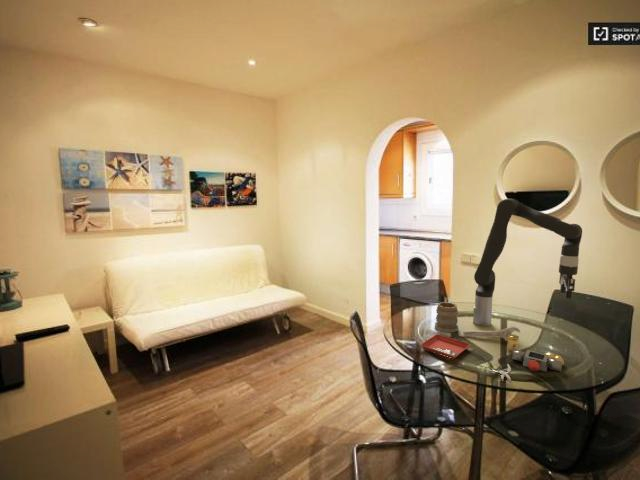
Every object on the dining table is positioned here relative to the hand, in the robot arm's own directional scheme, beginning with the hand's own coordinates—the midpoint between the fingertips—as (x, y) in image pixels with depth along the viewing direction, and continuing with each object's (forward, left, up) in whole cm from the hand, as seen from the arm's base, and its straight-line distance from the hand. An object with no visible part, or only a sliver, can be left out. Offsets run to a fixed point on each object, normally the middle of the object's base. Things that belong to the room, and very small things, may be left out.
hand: (565, 295), depth 176 cm
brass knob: (-18, -24, -26) cm, 40 cm away
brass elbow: (-3, -23, -24) cm, 33 cm away
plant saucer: (-45, -41, -26) cm, 66 cm away
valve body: (-7, -34, -26) cm, 43 cm away
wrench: (-31, -15, -26) cm, 43 cm away
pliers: (-18, -48, -26) cm, 58 cm away
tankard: (-55, -10, -26) cm, 62 cm away
